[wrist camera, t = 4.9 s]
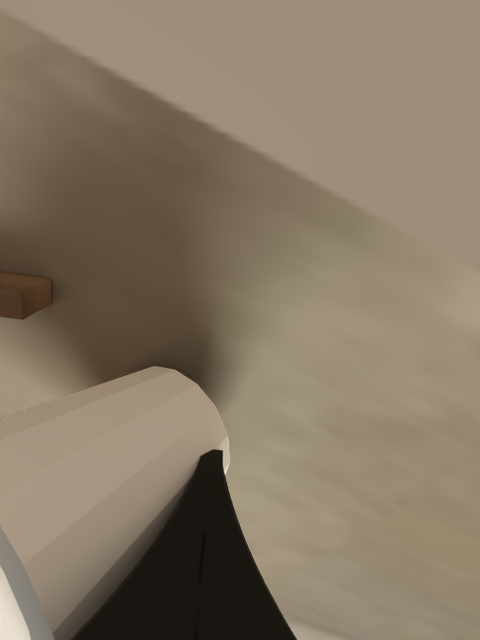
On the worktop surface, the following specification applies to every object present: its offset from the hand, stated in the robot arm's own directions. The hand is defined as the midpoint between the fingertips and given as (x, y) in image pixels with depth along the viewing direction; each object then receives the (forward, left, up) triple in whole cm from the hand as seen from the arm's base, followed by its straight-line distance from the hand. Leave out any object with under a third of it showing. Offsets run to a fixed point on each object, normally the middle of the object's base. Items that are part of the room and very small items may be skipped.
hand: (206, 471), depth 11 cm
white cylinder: (0, +1, -2) cm, 3 cm away
